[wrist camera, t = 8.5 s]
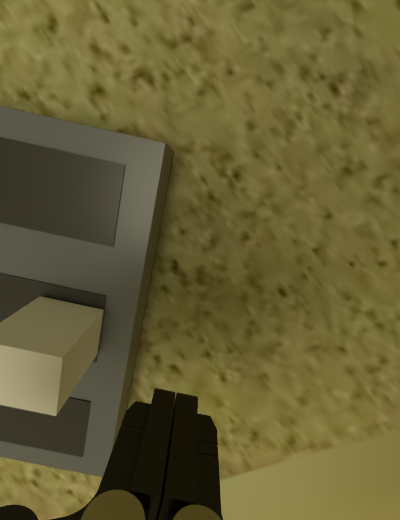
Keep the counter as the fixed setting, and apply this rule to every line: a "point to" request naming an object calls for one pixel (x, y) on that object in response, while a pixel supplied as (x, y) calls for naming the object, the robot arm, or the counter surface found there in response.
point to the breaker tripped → (46, 353)
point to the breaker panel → (78, 267)
